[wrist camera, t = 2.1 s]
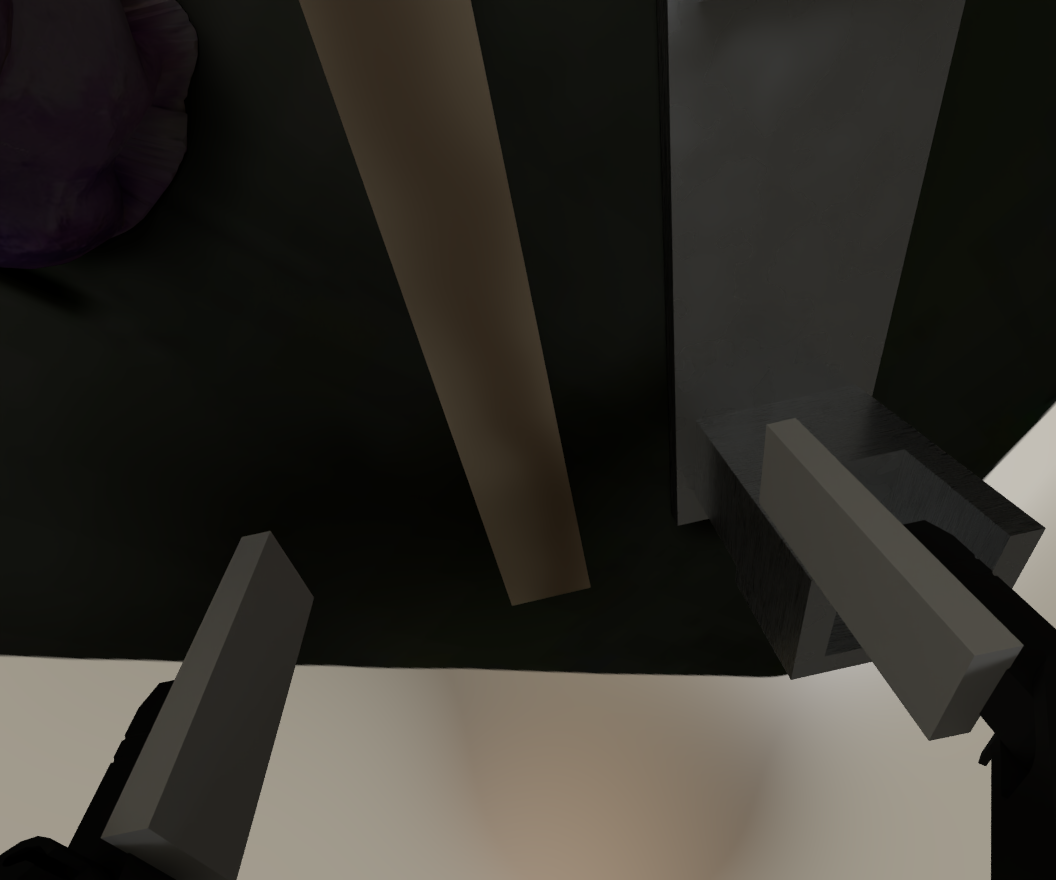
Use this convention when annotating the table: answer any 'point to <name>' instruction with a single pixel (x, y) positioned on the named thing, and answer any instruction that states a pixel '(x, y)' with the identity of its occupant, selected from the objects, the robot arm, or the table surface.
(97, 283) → the table surface
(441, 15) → the rail
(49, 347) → the table surface
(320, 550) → the table surface
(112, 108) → the figurine
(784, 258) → the bracket stand
